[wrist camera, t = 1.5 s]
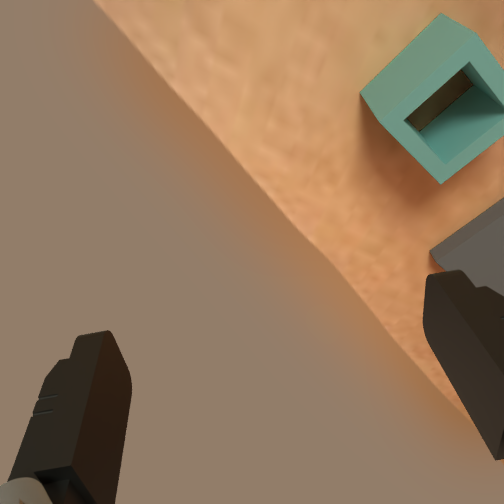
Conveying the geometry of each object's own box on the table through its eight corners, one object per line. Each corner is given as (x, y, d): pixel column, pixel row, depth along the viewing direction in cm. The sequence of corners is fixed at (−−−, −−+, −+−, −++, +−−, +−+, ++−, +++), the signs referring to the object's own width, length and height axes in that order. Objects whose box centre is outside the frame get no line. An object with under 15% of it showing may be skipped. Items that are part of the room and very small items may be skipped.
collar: (440, 13, 28) (475, 32, 24) (494, 83, 31) (533, 111, 27) (359, 92, 31) (379, 122, 27) (415, 150, 33) (440, 184, 29)
